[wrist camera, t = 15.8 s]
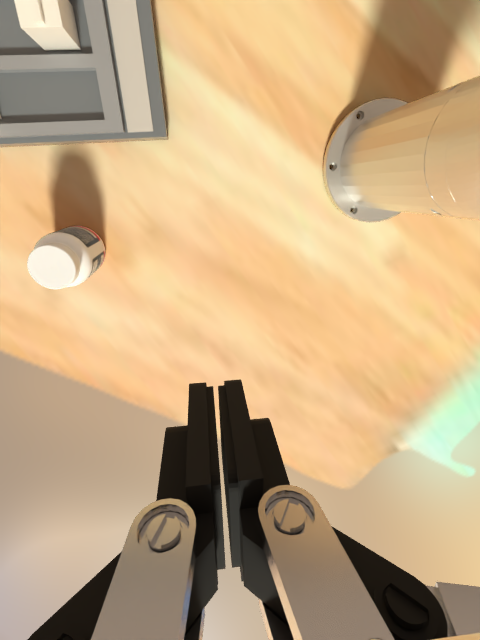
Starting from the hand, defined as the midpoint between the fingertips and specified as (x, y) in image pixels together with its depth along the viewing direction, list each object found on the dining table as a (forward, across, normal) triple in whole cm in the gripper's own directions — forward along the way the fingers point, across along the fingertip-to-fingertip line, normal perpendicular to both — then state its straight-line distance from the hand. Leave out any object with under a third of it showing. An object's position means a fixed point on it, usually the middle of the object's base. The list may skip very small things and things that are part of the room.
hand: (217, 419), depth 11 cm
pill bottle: (+31, +14, -1) cm, 34 cm away
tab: (+29, +11, -20) cm, 37 cm away
